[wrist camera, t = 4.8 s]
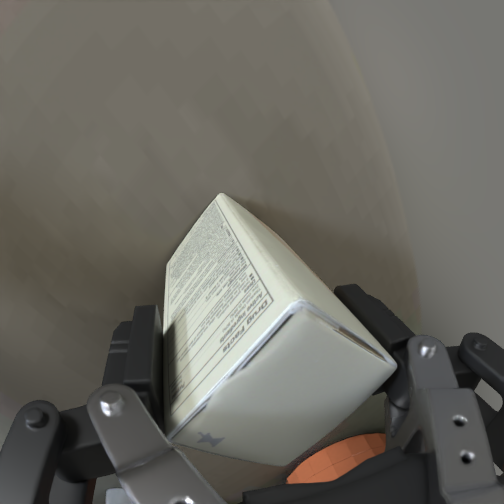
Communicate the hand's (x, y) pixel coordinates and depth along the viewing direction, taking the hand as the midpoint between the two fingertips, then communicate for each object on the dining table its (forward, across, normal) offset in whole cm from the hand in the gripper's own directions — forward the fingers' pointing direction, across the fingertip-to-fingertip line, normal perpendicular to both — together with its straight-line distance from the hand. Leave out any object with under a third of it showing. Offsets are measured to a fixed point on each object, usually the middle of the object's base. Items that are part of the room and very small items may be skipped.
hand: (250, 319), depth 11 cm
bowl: (+7, -13, +30) cm, 33 cm away
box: (+7, 0, 0) cm, 7 cm away
